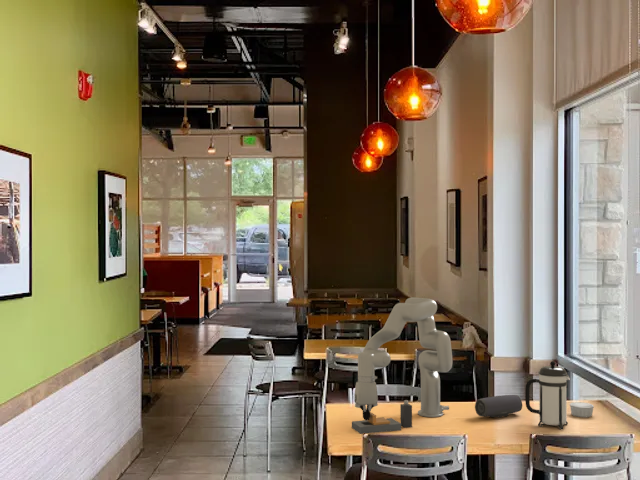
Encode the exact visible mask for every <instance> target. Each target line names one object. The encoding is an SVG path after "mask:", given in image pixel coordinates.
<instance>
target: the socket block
mask: <svg viewBox="0 0 640 480" xmlns="http://www.w3.org/2000/svg"><path fill="white" fill-rule="evenodd" d="M385 419H387V420H389V421H390V424H379V425H373V424H372V423H370V422H368V421H367V420H364V419H363V420H354V421H353V420H352V421H351V429H353V430H354V431H355V432H356V433H358V434H360V435H364V434H363V433H366V434H375V433H376V434H377V433H385V432H395V431H402V426H401V422H399V421H397V420H396V419H394V418H392V417H388V418H385Z"/></svg>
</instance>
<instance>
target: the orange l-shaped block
mask: <svg viewBox="0 0 640 480" xmlns="http://www.w3.org/2000/svg"><path fill="white" fill-rule="evenodd" d="M367 421H368V422H370V423H372V424H373V425H379V424H390V421H389V420H387V419H386V418H385V417H383V416H381V417H377V415H376V414H375V413H373V412H371V411H370V418H369V420H367Z"/></svg>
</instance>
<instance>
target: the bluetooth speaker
mask: <svg viewBox="0 0 640 480" xmlns="http://www.w3.org/2000/svg"><path fill="white" fill-rule="evenodd" d="M522 409H523V401H522V399H521V397H520V396H519V395H517V394H505V395H495V396H489V397H488V396H487V397H483V398H478V399H477V400H476V401H475V403H474V410H475V412H476V414H477V415H478V417H483V418H484V417H489V418H490V417H498V418H503V417H502V416H505V417H509V415H512V414H515V413H519V412H520V411H521V410H522Z"/></svg>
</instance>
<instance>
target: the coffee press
mask: <svg viewBox="0 0 640 480" xmlns="http://www.w3.org/2000/svg"><path fill="white" fill-rule="evenodd" d="M555 365H556V362H555V361H550V363H549V365H546V366H542V367H540V369H539V370H538V378H539V379H538V378H531V379H530V380H528V381H527V382H526V384H525V394H524V395H525V398H524V399H525V407H526V409H527V410H528V411H529V412H530V413H533V414H538V415H539V422H538V423H537V424H538V427H540V428H542V427H543V426H544V425H548V426H549V425H550V426H557V427H558V429H559V430H561V431H562V430H564V425H565V426H567V425H568V424H569V422H568V421H567V418H568V417H567V414H568V413H567V411H568V410H567V407H568V406H567V386H568V381H571V378H570V376H569V375H568V372H567V370H566V369H565V368H563V367H561V366H559V365H558V366H555ZM535 383H538V385H539V386H538V387H539V388H538V389H539V390H538V391H539V394H538V395H539V398H538V399H539V400H538V401H539V403H538V405H539V409H535V408H532V406H531V404H530V401H531V400H530V395H531V394H530V391H531V390H530V388H531V384H535Z"/></svg>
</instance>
